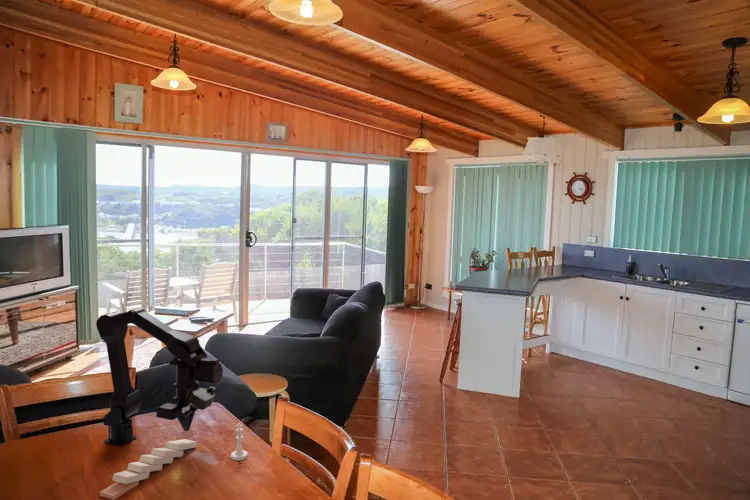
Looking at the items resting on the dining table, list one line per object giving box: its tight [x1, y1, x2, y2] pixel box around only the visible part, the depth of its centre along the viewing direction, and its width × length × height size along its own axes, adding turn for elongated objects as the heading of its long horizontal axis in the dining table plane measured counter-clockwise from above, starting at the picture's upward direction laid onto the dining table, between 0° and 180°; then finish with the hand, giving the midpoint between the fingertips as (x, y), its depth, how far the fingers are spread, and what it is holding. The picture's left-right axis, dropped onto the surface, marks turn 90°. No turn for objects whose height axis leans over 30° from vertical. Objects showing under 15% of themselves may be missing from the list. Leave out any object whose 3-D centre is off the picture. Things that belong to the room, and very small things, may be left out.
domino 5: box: [150, 447, 185, 458], centre depth 148 cm, size 4×2×8 cm
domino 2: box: [99, 480, 140, 500], centre depth 133 cm, size 4×2×8 cm
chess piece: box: [230, 422, 249, 461], centre depth 152 cm, size 5×5×10 cm
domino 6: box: [164, 438, 198, 451], centre depth 154 cm, size 4×2×8 cm
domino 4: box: [139, 454, 175, 465], centre depth 145 cm, size 4×2×8 cm
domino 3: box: [126, 461, 164, 473], centre depth 141 cm, size 4×2×8 cm
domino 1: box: [111, 469, 151, 484], centre depth 136 cm, size 4×2×8 cm
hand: (186, 430), depth 155 cm, fingers closed
